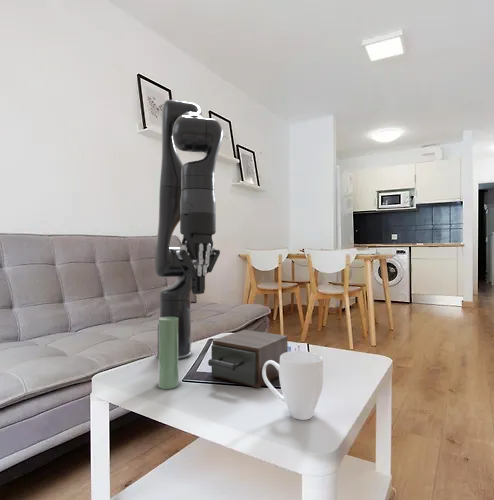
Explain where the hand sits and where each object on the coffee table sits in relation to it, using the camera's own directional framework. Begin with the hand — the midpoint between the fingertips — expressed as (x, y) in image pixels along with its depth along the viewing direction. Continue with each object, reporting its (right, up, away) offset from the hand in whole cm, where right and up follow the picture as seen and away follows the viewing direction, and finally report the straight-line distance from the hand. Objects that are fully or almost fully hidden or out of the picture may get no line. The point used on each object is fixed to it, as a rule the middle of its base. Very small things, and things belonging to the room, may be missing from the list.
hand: (198, 293), depth 77 cm
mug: (+19, -23, -6) cm, 31 cm away
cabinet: (+12, -23, +17) cm, 31 cm away
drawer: (+10, -22, +14) cm, 28 cm away
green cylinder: (-8, -23, +9) cm, 26 cm away
